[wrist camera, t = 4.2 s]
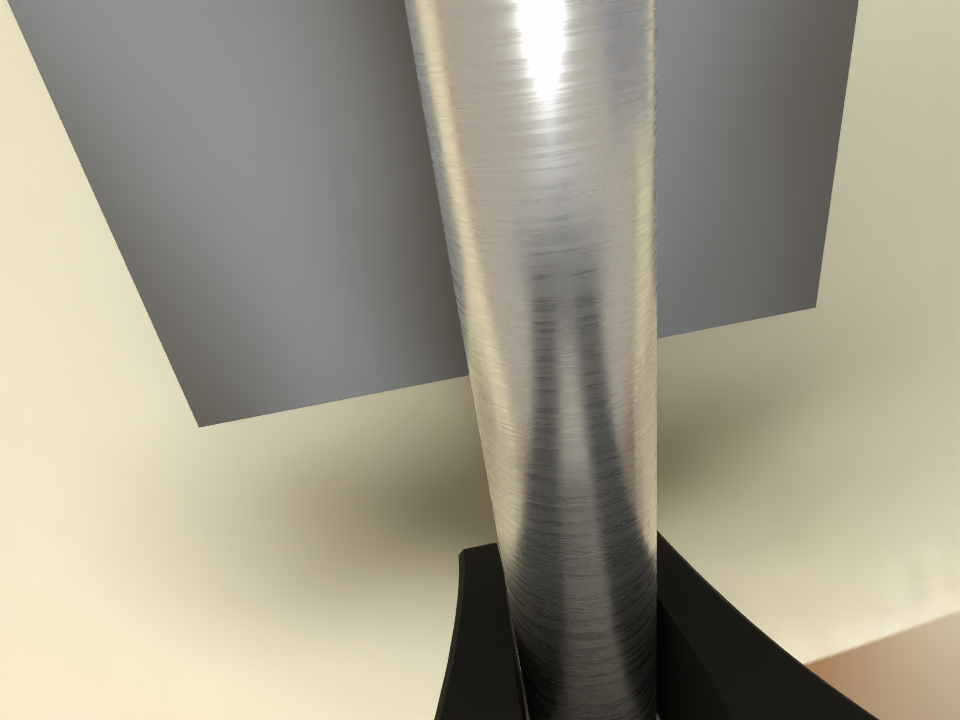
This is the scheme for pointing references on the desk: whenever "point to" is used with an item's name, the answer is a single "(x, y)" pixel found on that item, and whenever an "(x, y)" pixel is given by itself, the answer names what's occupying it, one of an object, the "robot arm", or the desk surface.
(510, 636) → the robot arm
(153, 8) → the bearing block
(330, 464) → the desk surface
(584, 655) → the shaft
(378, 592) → the desk surface
